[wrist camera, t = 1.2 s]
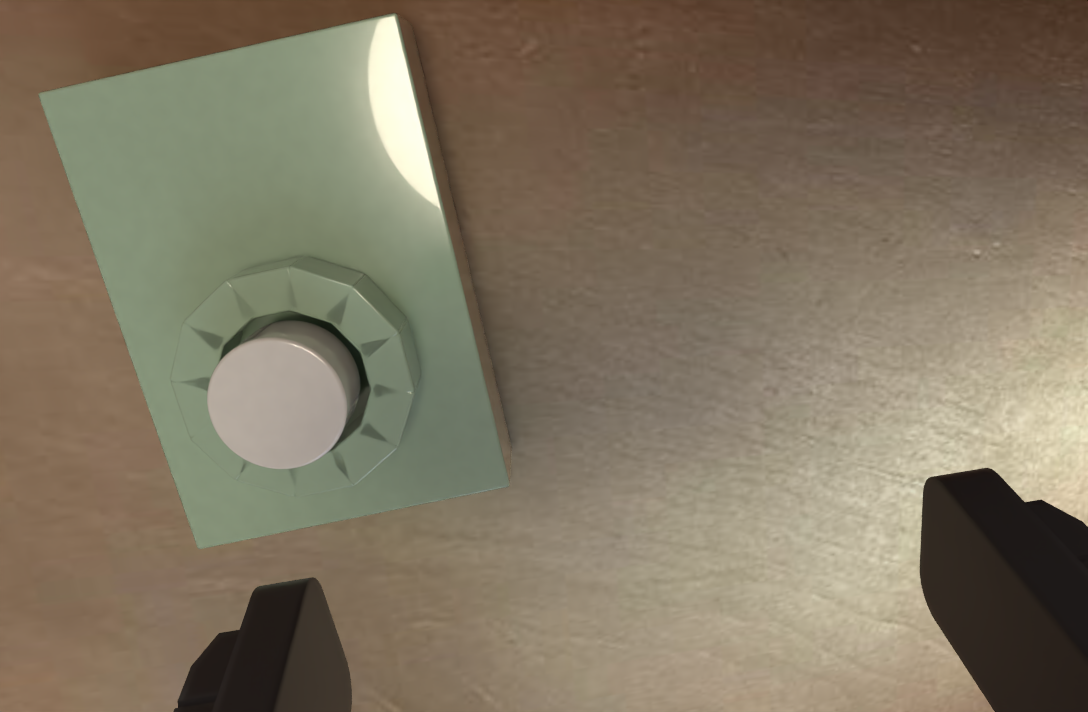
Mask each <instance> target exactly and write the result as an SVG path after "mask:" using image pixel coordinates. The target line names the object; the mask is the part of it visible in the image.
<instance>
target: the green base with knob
mask: <svg viewBox="0 0 1088 712" xmlns="http://www.w3.org/2000/svg"><path fill="white" fill-rule="evenodd" d="M39 98H40V101H41V104H42V107H43V110H44V113H45V115H46V118H47V121H48V124H49V127H50V130H51V133H52V135H53V138H54V141H55V144H56V147H57V150H58V152H59V155H60V158H61V161H62V164H63V167H64V169H65V172H66V175H67V178H68V181H69V184H70V187H71V189H72V192H73V195H74V198H75V201H76V204H77V206H78V209H79V212H80V215H81V218H82V221H83V223H84V226H85V229H86V232H87V235H88V238H89V241H90V243H91V246H92V249H93V252H94V255H95V258H96V260H97V263H98V266H99V269H100V272H101V275H102V277H103V280H104V283H105V286H106V289H107V292H108V295H109V297H110V300H111V303H112V306H113V309H114V312H115V314H116V317H117V320H118V323H119V326H120V329H121V332H122V334H123V337H124V340H125V343H126V346H127V349H128V351H129V354H130V357H131V360H132V363H133V366H134V368H135V371H136V374H137V377H138V380H139V383H140V386H141V388H142V391H143V394H144V397H145V400H146V403H147V405H148V408H149V411H150V414H151V417H152V420H153V422H154V425H155V428H156V431H157V434H158V437H159V440H160V442H161V445H162V448H163V451H164V454H165V457H166V459H167V462H168V465H169V468H170V471H171V474H172V476H173V479H174V482H175V485H176V488H177V491H178V494H179V496H180V499H181V502H182V505H183V508H184V511H185V513H186V516H187V519H188V522H189V525H190V528H191V531H192V533H193V536H194V539H195V542H196V545H197V548H198V549H203V548H208V547H213V546H218V545H223V544H228V543H233V542H238V541H243V540H248V539H253V538H258V537H263V536H268V535H273V534H277V533H282V532H287V531H292V530H297V529H302V528H307V527H312V526H317V525H322V524H327V523H332V522H337V521H342V520H347V519H352V518H357V517H362V516H367V515H372V514H377V513H381V512H386V511H391V510H396V509H401V508H406V507H411V506H416V505H421V504H426V503H431V502H436V501H441V500H446V499H451V498H456V497H461V496H466V495H471V494H476V493H481V492H486V491H490V490H495V489H500V488H505V487H509V486H510V472H511V451H512V447H511V443H510V438H509V434H508V430H507V426H506V421H505V417H504V413H503V409H502V404H501V400H500V396H499V392H498V388H497V383H496V379H495V375H494V371H493V366H492V362H491V358H490V354H489V349H488V345H487V341H486V337H485V333H484V328H483V324H482V320H481V316H480V311H479V307H478V303H477V299H476V294H475V290H474V286H473V282H472V277H471V273H470V269H469V265H468V261H467V256H466V252H465V248H464V244H463V239H462V235H461V231H460V227H459V222H458V218H457V214H456V210H455V205H454V201H453V197H452V193H451V189H450V184H449V180H448V176H447V172H446V167H445V163H444V159H443V155H442V150H441V146H440V142H439V138H438V134H437V129H436V125H435V121H434V117H433V112H432V108H431V104H430V100H429V95H428V91H427V87H426V83H425V78H424V74H423V70H422V66H421V62H420V57H419V53H418V49H417V45H416V40H415V36H414V32H413V28H412V25H411V24H410V23H409V22H408V21H406V20H405V19H403V18H402V17H401V16H399V15H398V14H396V13H391V14H386V15H382V16H377V17H373V18H369V19H364V20H360V21H355V22H351V23H346V24H342V25H337V26H333V27H328V28H324V29H320V30H315V31H311V32H306V33H302V34H297V35H293V36H288V37H284V38H279V39H275V40H271V41H266V42H262V43H257V44H253V45H248V46H244V47H239V48H235V49H230V50H226V51H222V52H217V53H213V54H208V55H204V56H199V57H195V58H190V59H186V60H181V61H177V62H173V63H168V64H164V65H159V66H155V67H150V68H146V69H141V70H137V71H132V72H128V73H124V74H119V75H115V76H110V77H106V78H101V79H97V80H92V81H88V82H83V83H79V84H75V85H70V86H66V87H61V88H57V89H52V90H48V91H43V92H40V93H39ZM285 320H296V321H304V322H308V323H312V324H315V325H317V326H320V327H322V328H324V329H326V330H327V331H329V332H330V333H332V334H333V335H335V336H336V337H337V338H338V339H339V340H340V341H341V342H342V343H343V344H344V345H345V346H346V347H347V349H348V350H349V352H350V353H351V355H352V356H353V358H354V360H355V362H356V365H357V368H358V372H359V376H360V396H359V400H358V404H357V407H356V409H355V411H354V413H353V415H352V417H351V418H350V420H349V422H348V424H347V425H346V427H345V429H344V431H343V433H342V434H341V436H340V438H339V440H338V441H337V442H336V444H335V445H334V446H333V448H332V449H331V450H330V451H329V452H328V453H326V454H325V455H324V456H323V457H321V458H320V459H318V460H316V461H314V462H312V463H310V464H308V465H305V466H301V467H298V468H291V469H273V468H267V467H262V466H259V465H256V464H253V463H251V462H249V461H247V460H245V459H243V458H242V457H240V456H238V455H237V454H236V453H234V452H233V451H232V450H231V449H230V448H229V447H228V446H227V445H226V444H225V443H224V442H223V441H222V439H221V438H220V437H219V435H218V434H217V432H216V430H215V428H214V426H213V424H212V422H211V419H210V415H209V411H208V405H207V391H208V385H209V382H210V378H211V376H212V373H213V371H214V369H215V368H216V366H217V365H218V363H219V362H220V360H221V359H222V358H223V357H224V356H225V355H226V354H227V353H229V352H230V351H231V350H232V349H233V348H235V347H236V346H237V345H238V344H239V343H241V342H242V341H243V340H244V339H246V338H247V337H248V336H249V335H250V334H252V333H253V332H254V331H256V330H257V329H259V328H261V327H263V326H265V325H267V324H270V323H274V322H278V321H285Z"/></svg>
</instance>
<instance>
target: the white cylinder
mask: <svg viewBox="0 0 1088 712" xmlns="http://www.w3.org/2000/svg"><path fill="white" fill-rule="evenodd" d="M359 396H360V376H359V372H358V368H357V365H356V362H355V360H354V358H353V356H352V355H351V353H350V352H349V350H348V349H347V347H346V346H345V345H344V344H343V343H342V342H341V341H340V340H339V339H338V338H337V337H336V336H335V335H333V334H332V333H330V332H329V331H327V330H326V329H324V328H322V327H320V326H317V325H315V324H312V323H308V322H304V321H296V320H285V321H278V322H274V323H270V324H267V325H265V326H263V327H261V328H259V329H257V330H256V331H254V332H253V333H252V334H250V335H249V336H248V337H247V338H246V339H244V340H243V341H242V342H241V343H239V344H238V345H237V346H236V347H235V348H233V349H232V350H231V351H230V352H229V353H227V354H226V355H225V356H224V357H223V358H222V359H221V360H220V362H219V363H218V365H217V366H216V368H215V369H214V371H213V373H212V376H211V378H210V382H209V385H208V391H207V405H208V411H209V415H210V419H211V422H212V424H213V426H214V428H215V430H216V432H217V434H218V435H219V437H220V438H221V439H222V441H223V442H224V443H225V444H226V445H227V446H228V447H229V448H230V449H231V450H232V451H233V452H234V453H236V454H237V455H238V456H240V457H242V458H243V459H245V460H247V461H249V462H251V463H253V464H256V465H259V466H262V467H267V468H273V469H291V468H298V467H301V466H305V465H308V464H310V463H312V462H314V461H316V460H318V459H320V458H321V457H323V456H324V455H325V454H326V453H328V452H329V451H330V450H331V449H332V448H333V446H334V445H335V444H336V442H337V441H338V440H339V438H340V436H341V434H342V433H343V431H344V429H345V427H346V425H347V424H348V422H349V420H350V418H351V417H352V415H353V413H354V411H355V409H356V407H357V404H358V400H359Z"/></svg>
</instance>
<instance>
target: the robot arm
mask: <svg viewBox="0 0 1088 712" xmlns="http://www.w3.org/2000/svg"><path fill="white" fill-rule="evenodd" d="M920 578H921V585H922V589H923V593H924V596H925V600H926V602H927V605H928V607H929V610H930V612H931V614H932V616H933V618H934V619H935V621H936V623H937V624H938V626H939V627H940V629H941V630H942V632H943V633H944V635H945V636H946V638H947V639H948V641H949V642H950V644H951V645H952V647H953V648H954V650H955V652H956V653H957V655H958V656H959V658H960V659H961V661H962V662H963V664H964V665H965V667H966V668H967V670H968V671H969V673H970V674H971V676H972V678H973V679H974V681H975V682H976V684H977V685H978V687H979V688H980V690H981V691H982V693H983V694H984V696H985V697H986V699H987V700H988V702H989V704H990V705H991V707H992V708H993V710H994V711H995V712H1088V527H1087V526H1086V525H1085V524H1084V523H1083V522H1082V521H1080V520H1078V519H1076V518H1074V517H1073V516H1071V515H1069V514H1067V513H1065V512H1063V511H1061V510H1060V509H1058V508H1056V507H1054V506H1052V505H1050V504H1048V503H1046V502H1045V501H1043V500H1037V501H1030V502H1024V501H1023V500H1022V499H1021V498H1020V497H1019V496H1018V495H1017V494H1016V493H1015V492H1014V490H1013V489H1012V488H1011V487H1010V486H1009V485H1008V484H1007V483H1006V482H1005V481H1004V480H1003V479H1002V478H1001V477H1000V476H999V475H998V474H997V473H996V472H995V471H994V470H992V469H989V468H983V469H977V470H971V471H965V472H959V473H952V474H946V475H940V476H934V477H930V478H928V479H927V480H926V482H925V485H924V490H923V507H922V530H921V553H920ZM351 705H352V689H351V679H350V672H349V667H348V663H347V660H346V657H345V654H344V651H343V648H342V645H341V642H340V639H339V636H338V633H337V630H336V628H335V625H334V622H333V619H332V616H331V613H330V610H329V607H328V604H327V601H326V598H325V595H324V592H323V590H322V587H321V585H320V583H319V582H318V580H317V579H316V578H313V577H312V578H306V579H300V580H294V581H288V582H282V583H276V584H270V585H264V586H259V587H257V588H256V589H255V590H254V591H253V593H252V596H251V598H250V601H249V604H248V607H247V610H246V613H245V616H244V619H243V622H242V625H241V628H240V630H236V631H230V632H224V633H219V634H218V635H217V636H216V638H215V639H214V640H213V641H212V642H211V643H210V645H209V646H208V647H207V648H206V649H205V651H204V652H203V653H202V654H201V655H200V657H199V658H198V659H197V660H196V661H195V663H194V664H193V665H192V666H191V668H190V671H189V674H188V676H187V679H186V681H185V684H184V686H183V689H182V692H181V694H180V697H179V699H178V708H175V709H174V712H351Z"/></svg>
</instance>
